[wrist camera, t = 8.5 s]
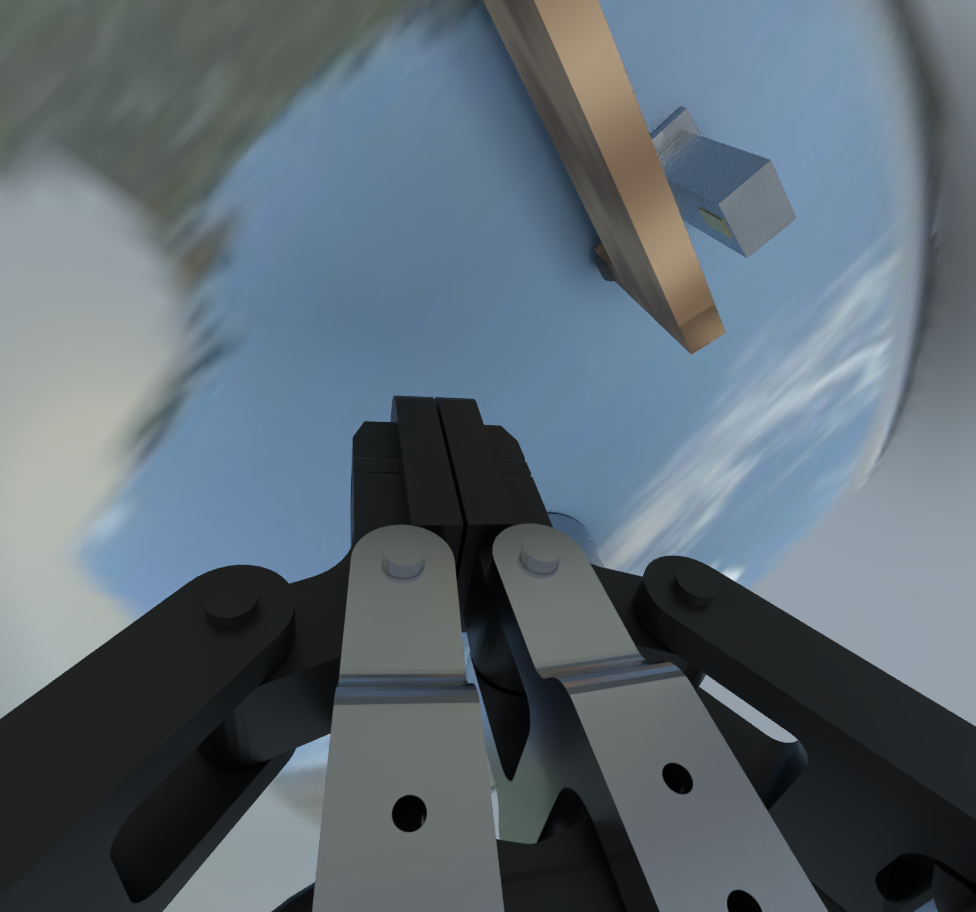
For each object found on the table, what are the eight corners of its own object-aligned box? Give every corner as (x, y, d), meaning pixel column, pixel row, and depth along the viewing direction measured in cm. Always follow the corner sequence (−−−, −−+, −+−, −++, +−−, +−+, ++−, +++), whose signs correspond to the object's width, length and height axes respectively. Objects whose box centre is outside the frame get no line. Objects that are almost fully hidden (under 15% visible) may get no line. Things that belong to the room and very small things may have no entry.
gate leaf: (430, -49, 23) (481, -79, 15) (481, -91, 23) (560, -147, 15) (598, 275, 33) (682, 359, 25) (636, 249, 32) (734, 327, 24)
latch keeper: (718, 178, 31) (814, 220, 25) (662, 226, 32) (741, 279, 26) (681, 106, 29) (778, 133, 22) (621, 161, 30) (698, 201, 23)
